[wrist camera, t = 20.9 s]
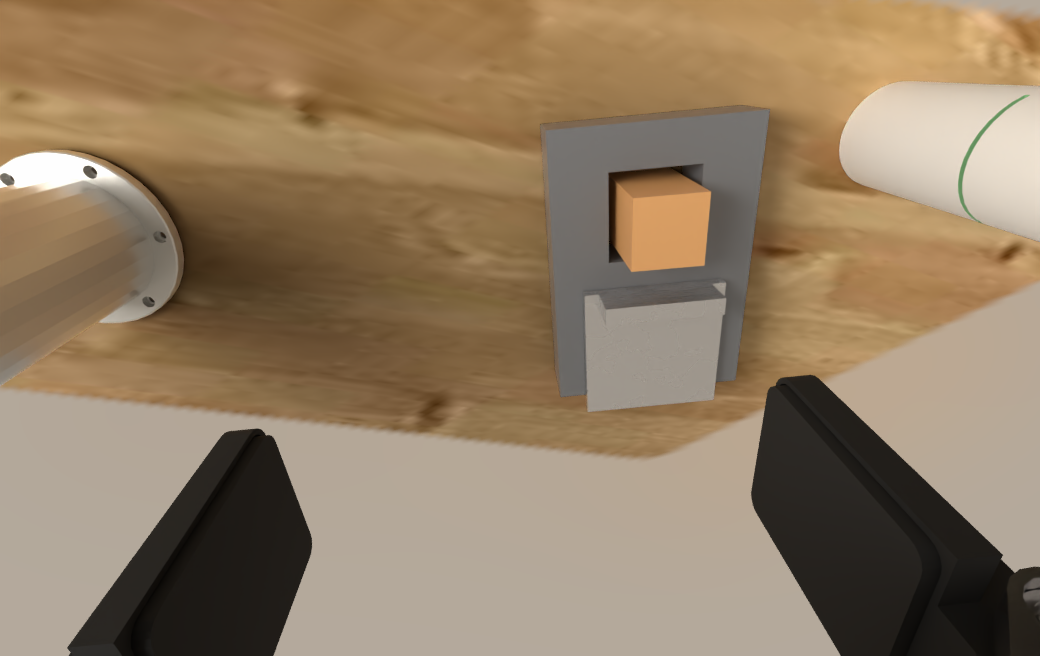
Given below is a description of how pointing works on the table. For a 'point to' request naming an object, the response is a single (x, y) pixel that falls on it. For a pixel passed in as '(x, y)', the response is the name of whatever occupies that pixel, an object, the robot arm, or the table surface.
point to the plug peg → (658, 219)
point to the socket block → (585, 213)
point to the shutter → (652, 344)
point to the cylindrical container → (952, 149)
